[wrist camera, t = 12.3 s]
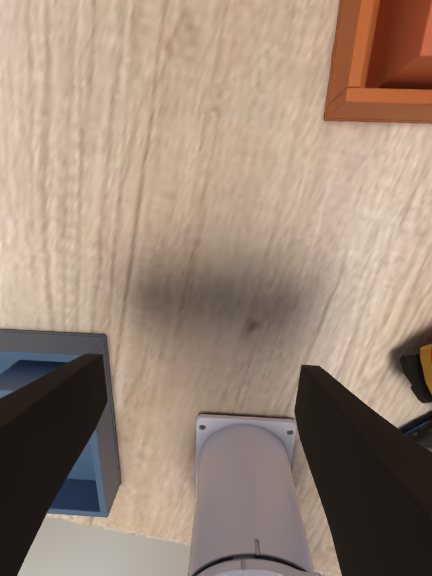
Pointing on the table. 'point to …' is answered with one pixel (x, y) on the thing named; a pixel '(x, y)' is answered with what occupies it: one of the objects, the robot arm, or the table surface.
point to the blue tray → (103, 444)
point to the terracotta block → (402, 46)
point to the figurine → (419, 372)
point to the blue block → (25, 374)
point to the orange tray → (354, 69)
